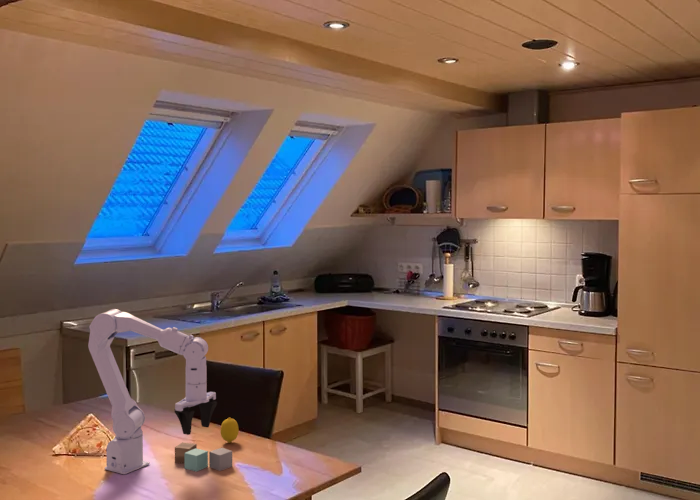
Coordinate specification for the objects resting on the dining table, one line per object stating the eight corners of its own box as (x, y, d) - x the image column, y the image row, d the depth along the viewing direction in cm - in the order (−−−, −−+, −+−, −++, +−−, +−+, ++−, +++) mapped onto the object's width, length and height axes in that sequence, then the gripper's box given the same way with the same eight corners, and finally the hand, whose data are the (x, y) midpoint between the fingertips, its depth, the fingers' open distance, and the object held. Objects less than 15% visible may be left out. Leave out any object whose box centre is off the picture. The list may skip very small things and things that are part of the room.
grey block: (219, 471, 192) (219, 455, 192) (209, 467, 195) (209, 451, 194) (232, 466, 195) (232, 451, 195) (222, 463, 198) (221, 447, 198)
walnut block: (189, 464, 197) (189, 448, 197) (174, 462, 198) (174, 447, 198) (196, 459, 201) (196, 443, 201) (182, 457, 202) (182, 442, 202)
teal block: (196, 471, 191) (196, 455, 191) (184, 468, 193) (184, 452, 193) (207, 466, 195) (207, 451, 195) (195, 463, 197) (195, 448, 197)
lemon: (234, 446, 212) (234, 420, 211) (217, 445, 213) (217, 419, 213) (241, 440, 217) (241, 415, 217) (224, 439, 218) (224, 414, 218)
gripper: (189, 389, 185) (189, 439, 186) (224, 378, 198) (224, 425, 198) (169, 386, 188) (169, 435, 189) (205, 375, 201) (205, 421, 202)
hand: (196, 430), depth 194 cm, fingers open, 7 cm apart
